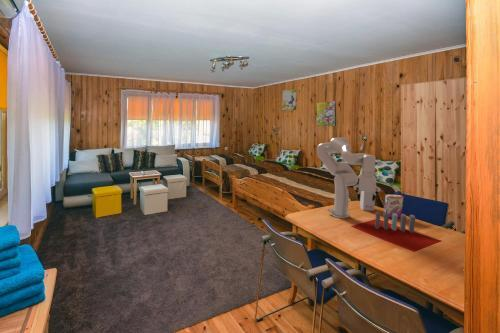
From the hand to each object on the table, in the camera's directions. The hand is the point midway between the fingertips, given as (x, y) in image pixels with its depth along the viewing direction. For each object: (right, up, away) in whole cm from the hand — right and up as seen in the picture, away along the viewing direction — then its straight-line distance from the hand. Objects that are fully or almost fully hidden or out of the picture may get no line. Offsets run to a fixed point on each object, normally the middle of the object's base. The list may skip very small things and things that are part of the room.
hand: (365, 199), depth 187 cm
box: (+17, -12, +40) cm, 45 cm away
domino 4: (+22, -19, -4) cm, 29 cm away
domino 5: (+27, -19, -6) cm, 33 cm away
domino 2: (+12, -18, -1) cm, 22 cm away
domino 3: (+17, -19, -3) cm, 25 cm away
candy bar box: (+27, -15, +20) cm, 37 cm away
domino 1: (+7, -18, 0) cm, 20 cm away
